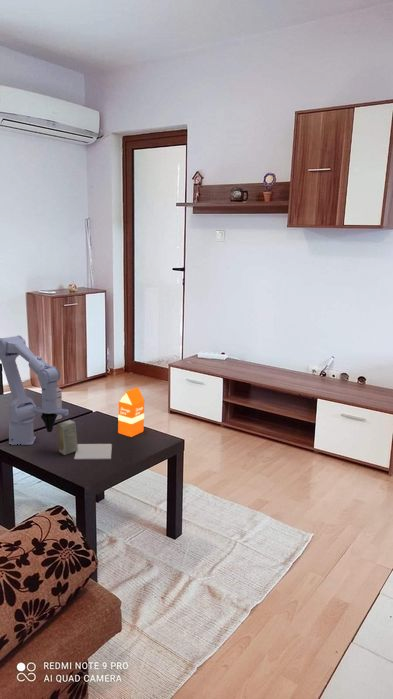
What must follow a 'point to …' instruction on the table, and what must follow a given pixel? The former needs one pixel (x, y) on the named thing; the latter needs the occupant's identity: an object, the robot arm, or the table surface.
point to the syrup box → (59, 402)
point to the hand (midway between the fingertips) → (49, 431)
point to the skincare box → (67, 437)
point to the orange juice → (131, 413)
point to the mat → (93, 451)
